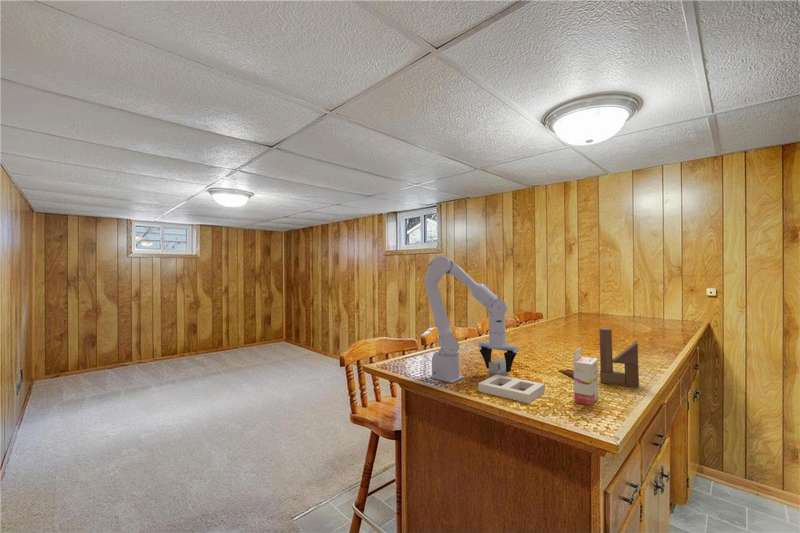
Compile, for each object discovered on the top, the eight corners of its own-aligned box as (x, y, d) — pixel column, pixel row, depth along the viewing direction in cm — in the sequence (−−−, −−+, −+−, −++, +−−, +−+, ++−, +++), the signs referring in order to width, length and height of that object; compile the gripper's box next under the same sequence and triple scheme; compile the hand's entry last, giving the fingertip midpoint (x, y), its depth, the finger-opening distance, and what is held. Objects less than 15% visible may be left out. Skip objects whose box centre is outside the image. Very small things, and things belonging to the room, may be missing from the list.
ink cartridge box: (593, 406, 98) (591, 353, 98) (573, 402, 101) (572, 351, 101) (599, 397, 104) (597, 348, 104) (580, 394, 107) (579, 346, 108)
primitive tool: (557, 371, 132) (557, 362, 132) (571, 371, 132) (571, 362, 132) (585, 389, 113) (585, 378, 113) (602, 388, 113) (602, 378, 113)
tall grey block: (489, 379, 124) (488, 362, 124) (498, 374, 130) (498, 358, 130) (498, 380, 122) (497, 363, 122) (507, 376, 127) (506, 359, 127)
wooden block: (639, 387, 112) (637, 331, 112) (600, 383, 117) (598, 329, 117) (637, 384, 115) (636, 329, 115) (600, 380, 120) (598, 327, 120)
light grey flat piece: (478, 391, 112) (478, 383, 112) (496, 381, 121) (496, 374, 121) (528, 403, 101) (528, 394, 101) (544, 392, 110) (544, 384, 110)
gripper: (521, 332, 124) (522, 370, 124) (484, 328, 134) (485, 364, 134) (512, 335, 119) (514, 375, 119) (475, 331, 129) (476, 368, 128)
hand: (498, 369), depth 126 cm, fingers open, 7 cm apart
